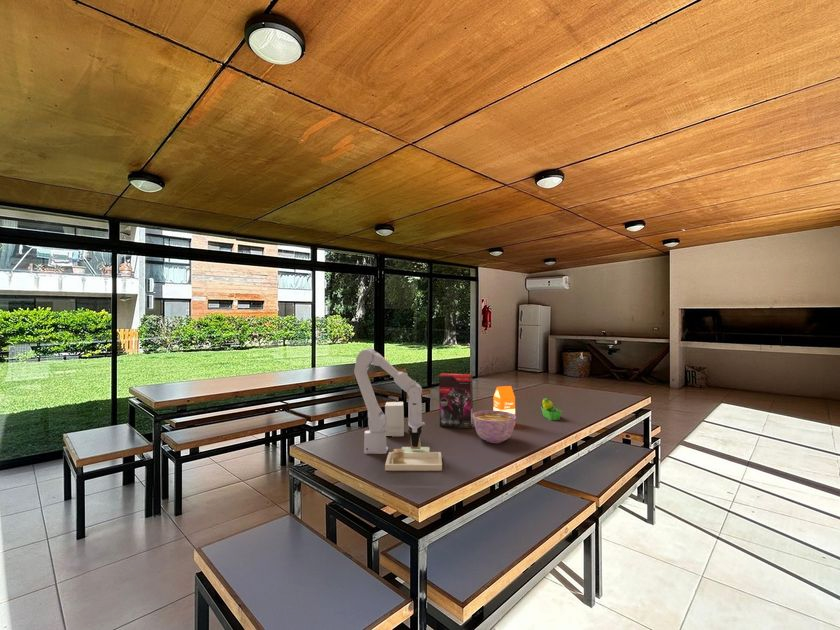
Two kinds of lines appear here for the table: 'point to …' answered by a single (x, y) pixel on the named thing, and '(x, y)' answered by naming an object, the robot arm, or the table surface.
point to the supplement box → (394, 418)
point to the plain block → (398, 456)
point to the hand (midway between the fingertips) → (415, 444)
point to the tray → (416, 462)
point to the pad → (422, 449)
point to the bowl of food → (494, 425)
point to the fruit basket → (550, 410)
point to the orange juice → (504, 399)
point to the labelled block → (416, 447)
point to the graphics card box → (456, 400)
